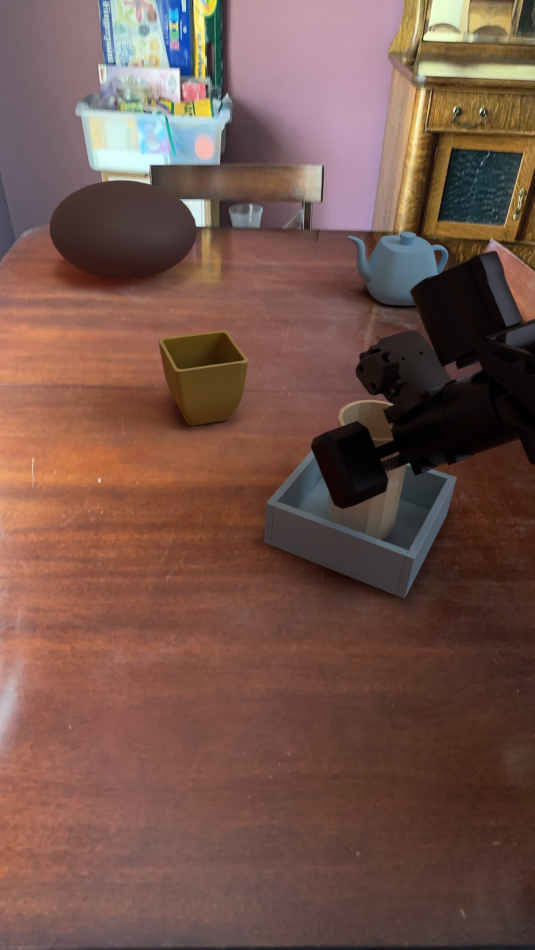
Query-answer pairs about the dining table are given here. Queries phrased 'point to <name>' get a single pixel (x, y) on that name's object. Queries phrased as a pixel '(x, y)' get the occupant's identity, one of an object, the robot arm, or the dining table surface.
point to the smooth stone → (123, 229)
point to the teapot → (397, 266)
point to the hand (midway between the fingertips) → (359, 460)
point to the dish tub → (351, 552)
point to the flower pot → (204, 375)
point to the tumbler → (382, 509)
